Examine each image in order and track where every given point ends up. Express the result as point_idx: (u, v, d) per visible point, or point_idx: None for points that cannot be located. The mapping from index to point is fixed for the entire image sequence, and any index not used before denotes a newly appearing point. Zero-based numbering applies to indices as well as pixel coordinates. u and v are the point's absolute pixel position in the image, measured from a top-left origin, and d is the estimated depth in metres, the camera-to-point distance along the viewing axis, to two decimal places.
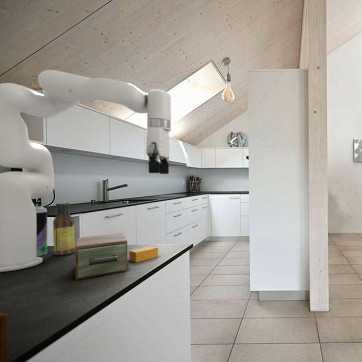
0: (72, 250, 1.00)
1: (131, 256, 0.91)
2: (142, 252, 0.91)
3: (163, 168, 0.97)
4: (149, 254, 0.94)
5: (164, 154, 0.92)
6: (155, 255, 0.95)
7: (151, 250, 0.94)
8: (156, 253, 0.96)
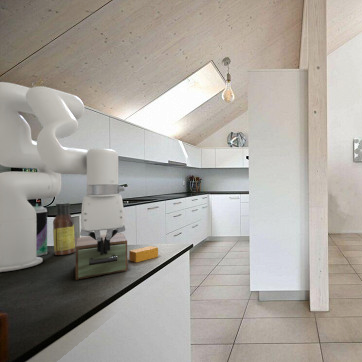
0: (72, 250, 1.00)
1: (131, 256, 0.91)
2: (142, 252, 0.91)
3: None
4: (149, 254, 0.94)
5: (99, 227, 0.73)
6: (155, 255, 0.95)
7: (151, 250, 0.94)
8: (156, 253, 0.96)
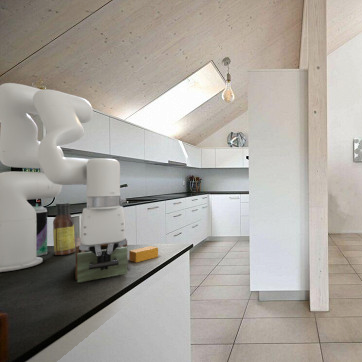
0: (72, 250, 1.00)
1: (131, 256, 0.91)
2: (142, 252, 0.91)
3: (104, 261, 0.72)
4: (149, 254, 0.94)
5: (99, 241, 0.69)
6: (155, 255, 0.95)
7: (151, 250, 0.94)
8: (156, 253, 0.96)
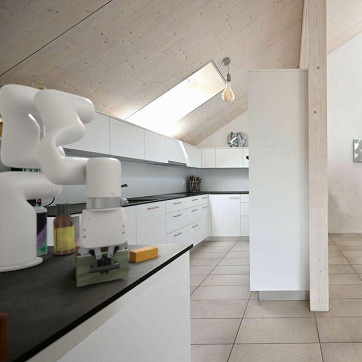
0: (72, 250, 1.00)
1: (131, 256, 0.91)
2: (142, 252, 0.91)
3: (104, 264, 0.69)
4: (149, 254, 0.94)
5: (99, 244, 0.66)
6: (155, 255, 0.95)
7: (151, 250, 0.94)
8: (156, 253, 0.96)
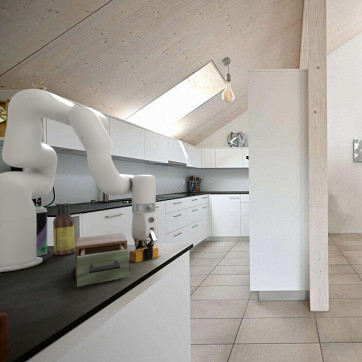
0: (72, 250, 1.00)
1: (131, 256, 0.91)
2: (142, 252, 0.91)
3: None
4: None
5: (136, 237, 0.93)
6: (155, 255, 0.95)
7: None
8: (156, 253, 0.96)
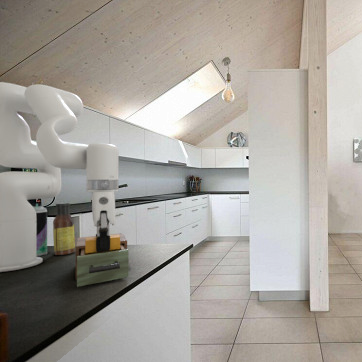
0: (72, 250, 1.00)
1: None
2: None
3: None
4: None
5: None
6: (116, 247, 0.75)
7: None
8: (117, 244, 0.75)
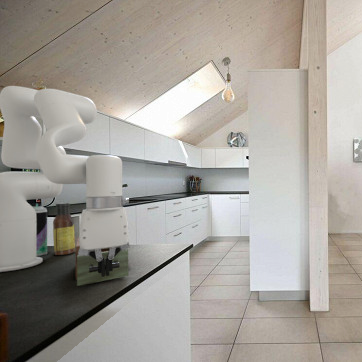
0: (72, 250, 1.00)
1: None
2: None
3: (105, 267, 0.66)
4: None
5: (100, 245, 0.64)
6: None
7: None
8: None
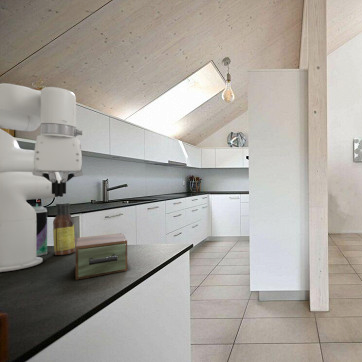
0: (72, 250, 1.00)
1: None
2: None
3: None
4: None
5: (53, 168, 0.71)
6: None
7: None
8: None
